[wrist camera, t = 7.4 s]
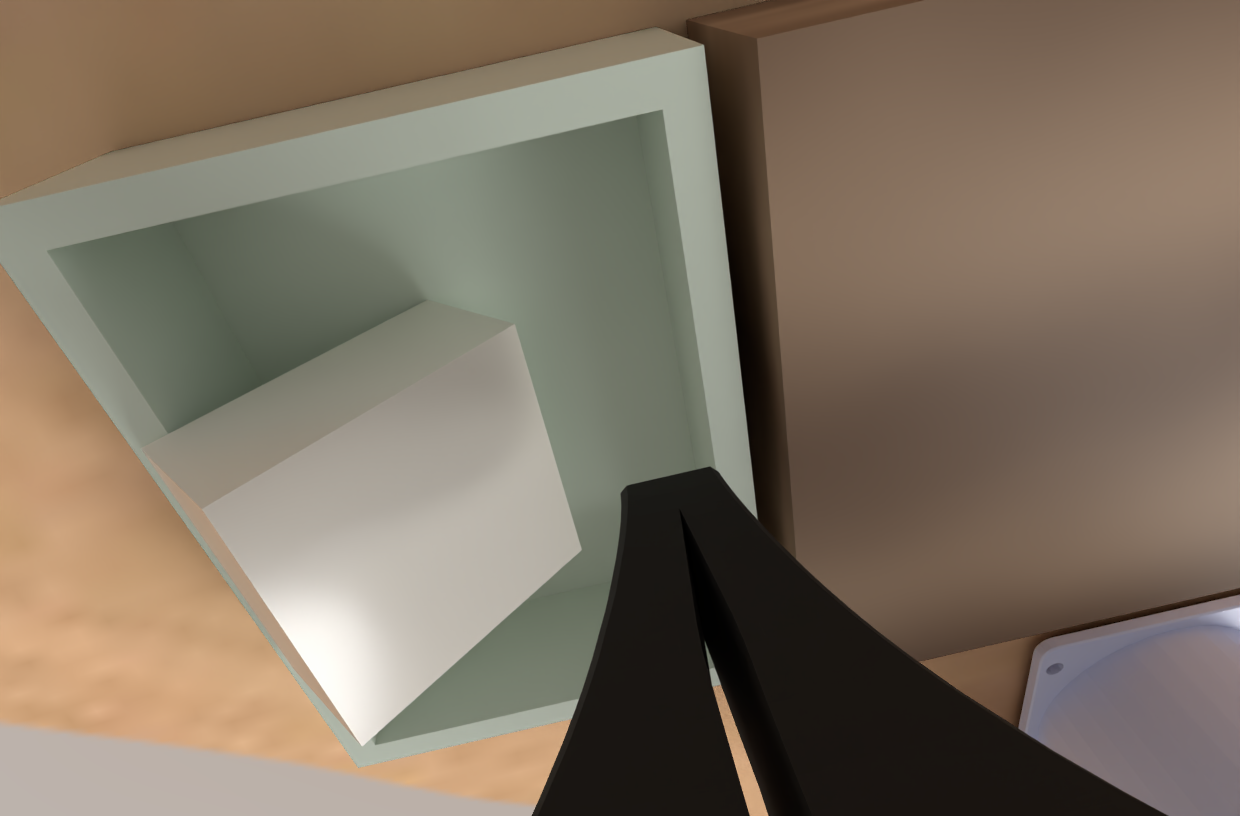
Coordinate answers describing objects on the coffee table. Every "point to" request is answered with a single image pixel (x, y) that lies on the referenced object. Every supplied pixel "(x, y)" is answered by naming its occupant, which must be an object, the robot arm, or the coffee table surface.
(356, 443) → the cream block
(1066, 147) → the brown flat block
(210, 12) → the coffee table surface
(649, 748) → the robot arm
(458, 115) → the sage box
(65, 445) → the coffee table surface
